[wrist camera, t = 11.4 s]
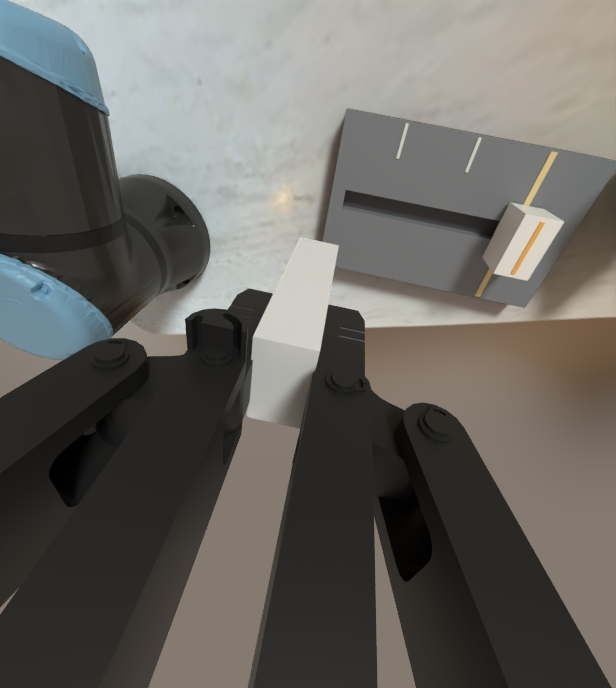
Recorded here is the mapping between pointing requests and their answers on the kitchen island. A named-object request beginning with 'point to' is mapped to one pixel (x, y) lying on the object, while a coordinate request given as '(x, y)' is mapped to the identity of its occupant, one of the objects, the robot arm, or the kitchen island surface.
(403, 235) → the console
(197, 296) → the kitchen island surface
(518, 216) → the fader tab
